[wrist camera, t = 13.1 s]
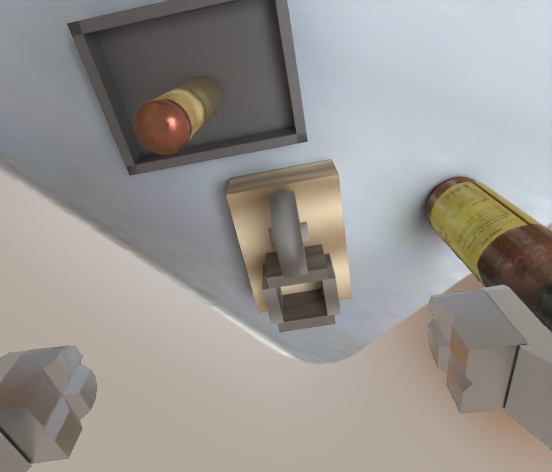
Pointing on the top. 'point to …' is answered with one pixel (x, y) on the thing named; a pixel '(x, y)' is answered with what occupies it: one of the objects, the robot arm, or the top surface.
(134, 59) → the tray
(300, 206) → the block
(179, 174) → the top surface
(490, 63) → the top surface
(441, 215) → the sauce bottle
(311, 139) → the top surface
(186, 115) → the pin
